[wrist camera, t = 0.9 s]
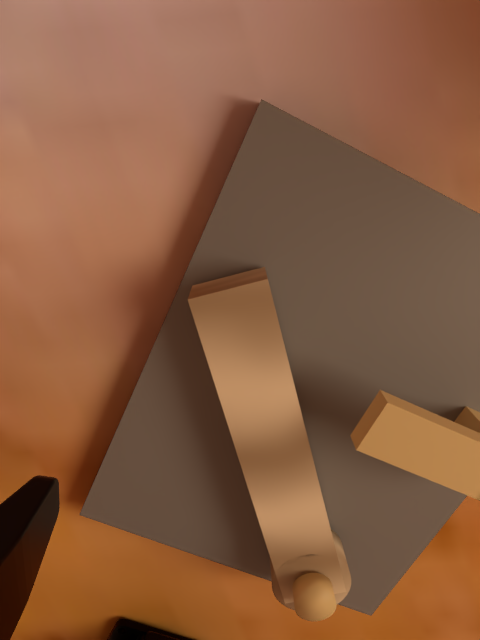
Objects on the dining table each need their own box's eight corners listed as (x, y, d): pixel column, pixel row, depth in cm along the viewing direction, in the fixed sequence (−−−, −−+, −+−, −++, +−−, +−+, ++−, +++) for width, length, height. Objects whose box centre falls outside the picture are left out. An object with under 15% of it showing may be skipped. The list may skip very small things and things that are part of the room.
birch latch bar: (348, 570, 25) (357, 604, 23) (278, 583, 25) (282, 618, 23) (274, 264, 19) (278, 276, 17) (183, 287, 19) (177, 301, 17)
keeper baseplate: (365, 596, 28) (391, 687, 23) (86, 498, 25) (51, 578, 20) (608, 285, 21) (716, 323, 16) (260, 102, 18) (267, 84, 13)
